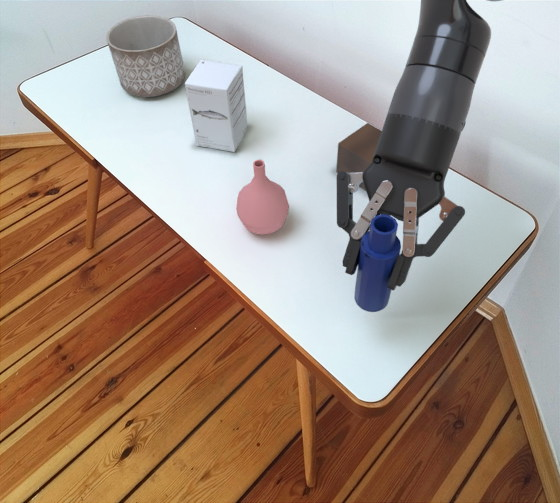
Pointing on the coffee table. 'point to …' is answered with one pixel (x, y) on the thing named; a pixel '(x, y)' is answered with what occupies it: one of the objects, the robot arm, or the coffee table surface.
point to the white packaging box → (217, 104)
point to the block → (358, 150)
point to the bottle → (377, 263)
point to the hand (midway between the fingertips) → (370, 280)
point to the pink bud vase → (262, 203)
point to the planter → (146, 55)
